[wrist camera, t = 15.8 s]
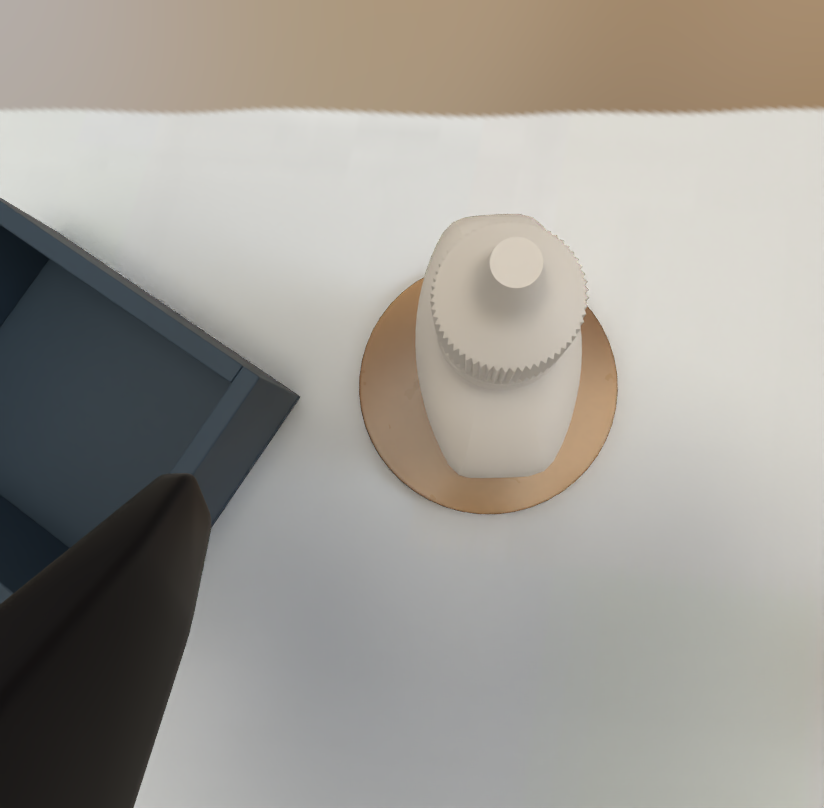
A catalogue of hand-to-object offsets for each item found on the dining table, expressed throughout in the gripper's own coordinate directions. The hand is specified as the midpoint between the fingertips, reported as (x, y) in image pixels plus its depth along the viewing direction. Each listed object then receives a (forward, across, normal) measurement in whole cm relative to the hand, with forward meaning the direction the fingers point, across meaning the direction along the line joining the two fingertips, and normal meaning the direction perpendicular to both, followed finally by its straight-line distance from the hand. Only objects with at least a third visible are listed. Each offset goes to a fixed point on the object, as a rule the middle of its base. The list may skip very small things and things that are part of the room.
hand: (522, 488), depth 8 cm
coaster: (+11, 0, +6) cm, 12 cm away
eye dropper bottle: (+10, 0, +6) cm, 12 cm away
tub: (+10, +14, +7) cm, 18 cm away
